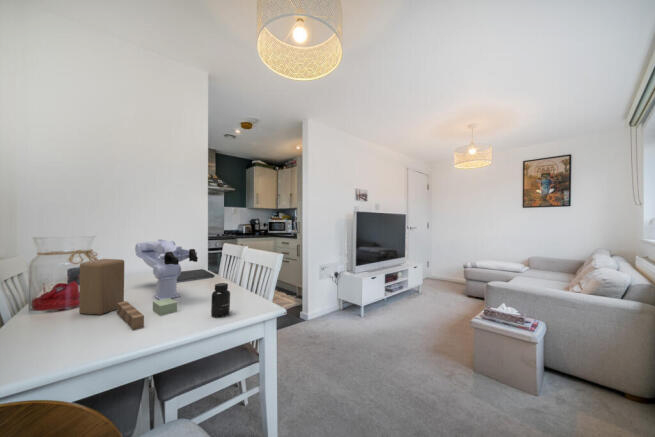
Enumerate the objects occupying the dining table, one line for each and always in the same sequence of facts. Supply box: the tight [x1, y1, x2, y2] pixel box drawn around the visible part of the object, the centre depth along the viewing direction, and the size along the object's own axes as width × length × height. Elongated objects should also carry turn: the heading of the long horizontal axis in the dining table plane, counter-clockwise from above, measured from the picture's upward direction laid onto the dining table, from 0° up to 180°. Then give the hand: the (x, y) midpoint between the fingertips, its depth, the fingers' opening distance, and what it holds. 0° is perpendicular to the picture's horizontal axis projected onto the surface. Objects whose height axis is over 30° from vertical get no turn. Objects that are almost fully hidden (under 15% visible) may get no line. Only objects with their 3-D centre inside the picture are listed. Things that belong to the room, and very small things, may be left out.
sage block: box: [152, 298, 178, 317], centre depth 101 cm, size 8×6×4 cm
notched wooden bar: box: [116, 300, 145, 331], centre depth 92 cm, size 22×3×4 cm, turn 51°
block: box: [78, 258, 125, 316], centre depth 100 cm, size 10×10×20 cm
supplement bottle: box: [210, 282, 231, 318], centre depth 98 cm, size 7×7×12 cm
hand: (187, 260), depth 105 cm, fingers open, 7 cm apart
